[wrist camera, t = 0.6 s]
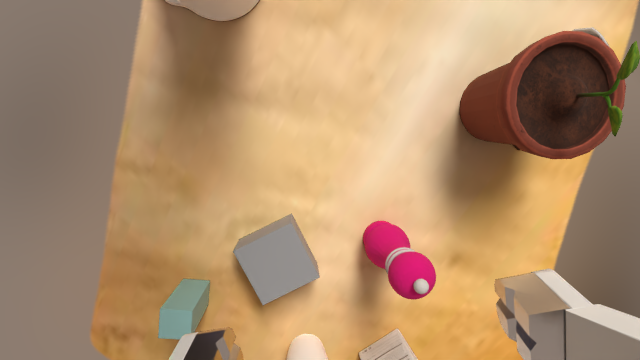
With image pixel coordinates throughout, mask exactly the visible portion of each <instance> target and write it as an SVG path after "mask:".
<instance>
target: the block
mask: <svg viewBox="0 0 640 360" xmlns="http://www.w3.org/2000/svg"><path fill="white" fill-rule="evenodd" d="M209 289H210V281H207V280H194V279H183V280H182V281H181V282H180V284H179V285H178V286H177V288H176V289H175V290H174V292H173V293H172V294H171V295H170V297H169V298H168V299H167V301H166V302H165V303H164V304H163V306H162V307H161V308H160V318H159V335H158V338H164V339H180V338H181V337H182V336H183V335H185V334H189V333H194V332H195V330H196V328H197V326H198V324H199V322H200V320H201V318H202V316H203V314H204V312H205V310H206V308H207V306H208V301H209Z"/></svg>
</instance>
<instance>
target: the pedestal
mask: <svg viewBox="0 0 640 360" xmlns="http://www.w3.org/2000/svg"><path fill="white" fill-rule="evenodd" d="M233 252H234V254H235V256H236V258H237V260H238V261H239V263H240V265H241V267H242V269H243V270H244V272H245V274H246V276H247V278H248V279H249V281H250V283H251V285H252V287H253V288H254V290H255V292H256V294H257V296H258V297H259V299H260V301H261V303H262V305H265V304H267V303H269V302H271V301H273V300H275V299H277V298H279V297H281V296H283V295H285V294H287V293H289V292H291V291H293V290H295V289H297V288H299V287H301V286H303V285H305V284H307V283H309V282H311V281H313V280H315V279H317V278H319V277H320V276H319V271H318V265H317V262H316V260H315V258H314V256H313V254H312V252H311V250H310V248H309V246H308V244H307V242H306V240H305V238H304V236H303V235H302V233H301V231H300V229H299V227H298V225H297V223H296V221H295V219H294V217H293V215H292V214H290V215H288V216H286V217H284V218H282V219H280V220H278V221H275V222H273V223H271V224H269V225H267V226H265V227H263V228H261V229H259V230H257V231H255V232H253V233H251V234H249V235H247V236H245V237H243V238H241V239H239V241H238V243H237V245H236V247H235V248H234V250H233Z"/></svg>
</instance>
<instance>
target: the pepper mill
mask: <svg viewBox="0 0 640 360" xmlns="http://www.w3.org/2000/svg"><path fill="white" fill-rule="evenodd" d="M363 242H364V245H365V251H366V254H367V256H368V258H369V259H370V260H371V261H372V262H373V263H374V264H375V265H377V266H379V267H381V268H383V269H386V272H387V274H388V278H389V282H390V284H391V286H392V288H393V289H394V290H395V291H396V293H398V294H399V295H401V296H402V297H404V298H407V299H419V298H422V297H424V296H426V295H427V294H428V293H430V291H431V290H432V289H433V287H434V285H435V281H436V274H435V269H434V267H433V265H432V263H431V262H430V260H429V259H428V258H427V257H425V256H424V255H422V254H421V253H418V252H415V251H414V250H412V249H410V243H409V239H408V237H407V236H406V234H405V233H404V231H403V230H402V229H401V228H399V227H397V226H395V225H392V224H390V223H389V222H386V221H376V222H374V223H372V224H370V225H369V226H368V227H367V228H366V230H365V232H364V235H363Z"/></svg>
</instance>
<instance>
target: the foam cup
mask: <svg viewBox="0 0 640 360" xmlns="http://www.w3.org/2000/svg"><path fill="white" fill-rule="evenodd" d="M286 360H328V357H327V355H326V352H325V349H324V346H323V344H322V342H321V341H320V339H319V338H318V337H316V336H314V335H312V334H302V335H299V336H297V337H296V338H295V339H294V340H293V341H292V342H291V344H290V347H289V350H288V354H287V358H286Z"/></svg>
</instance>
